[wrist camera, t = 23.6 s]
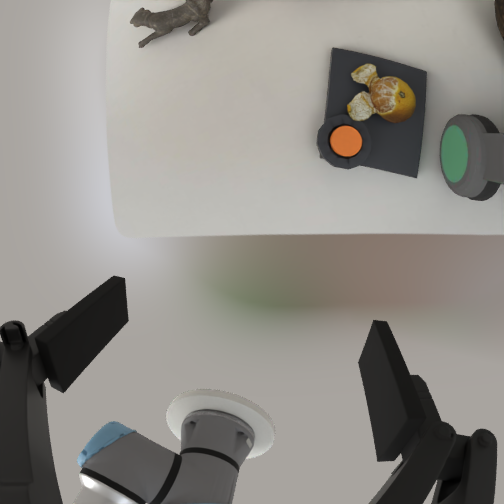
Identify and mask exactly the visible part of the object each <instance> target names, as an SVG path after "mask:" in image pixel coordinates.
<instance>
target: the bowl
mask: <svg viewBox="0 0 504 504" xmlns="http://www.w3.org/2000/svg"><path fill="white" fill-rule="evenodd" d="M495 13H496V20H497V24H498V27H499V30H500V32H501V35H502V37H503V39H504V0H495Z"/></svg>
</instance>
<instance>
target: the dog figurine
mask: <svg viewBox="0 0 504 504" xmlns="http://www.w3.org/2000/svg"><path fill="white" fill-rule="evenodd" d="M212 1H213V0H186V3H185V4H183V5H181V6H179V7H177V8H174V9H172V10H168V11H163V12H158V13H151V12H150V11H149V10H144V8H141V9H140V10H139V11H137V12H136V13H135V15H134V16H133V18H132V19H131V21H130V23H131V24H134V26H135V27H139V26H147V27H148V28H153V29H154V30H156V31H155V32H154V33H153V34H151V35H149V36H148V37H147V38H145V39H144V40H142V41H140V42H139V48H142V47H144V46H145V45H146V44H148V43H149V42H150V41H151V40H153V39H155V38H157V37H160V36H163V35H165V34H168V33H170V32H171V31H172V30H173V28H176V27H180V26H183V25H185V24H187V23H189V22H190V21H192V20H193V21H196V22H199V23H198V24H197V25H195V26H194V27H193V28H192V29H191V30H190V31H189V32H188V33H189V35H190V36H194V35H195V34H196V32H198V31H200V30H201V29H202V28H203V27H204V26H206V25H207V24H209V22H210V21H209V19H208V13H209V10H210V3H211V2H212Z"/></svg>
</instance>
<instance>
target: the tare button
mask: <svg viewBox="0 0 504 504" xmlns="http://www.w3.org/2000/svg"><path fill="white" fill-rule="evenodd" d="M330 144H331V147H332V149H333V150H334V151H335V152H336V153H337V154H339V155H341V156H353V155H355V154H357V153H358V152H359V150H360V149H361V146H362V138H361V135H360V133H359V132H358V131H357V130H356V129H355V128H353V127H351V126H341V127H339V128H337V129H336V130H334V131H333V133H332V134H331V137H330Z"/></svg>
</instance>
